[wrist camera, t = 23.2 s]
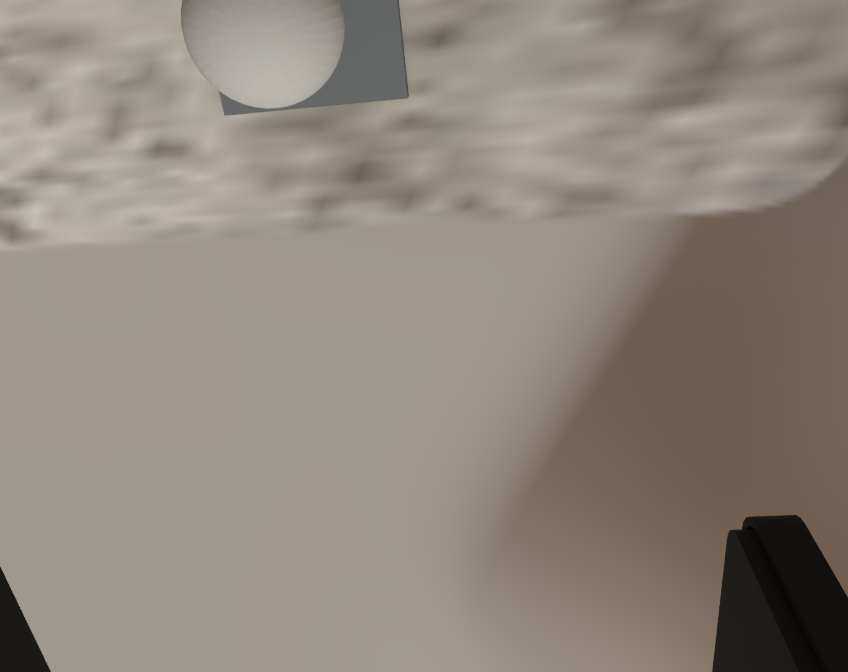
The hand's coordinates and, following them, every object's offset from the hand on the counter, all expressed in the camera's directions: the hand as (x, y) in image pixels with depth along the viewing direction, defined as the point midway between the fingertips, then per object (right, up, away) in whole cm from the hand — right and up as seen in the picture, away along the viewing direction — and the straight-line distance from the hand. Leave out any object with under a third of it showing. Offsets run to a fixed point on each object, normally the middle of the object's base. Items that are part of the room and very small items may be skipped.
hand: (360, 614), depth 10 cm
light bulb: (-5, +19, +24) cm, 31 cm away
